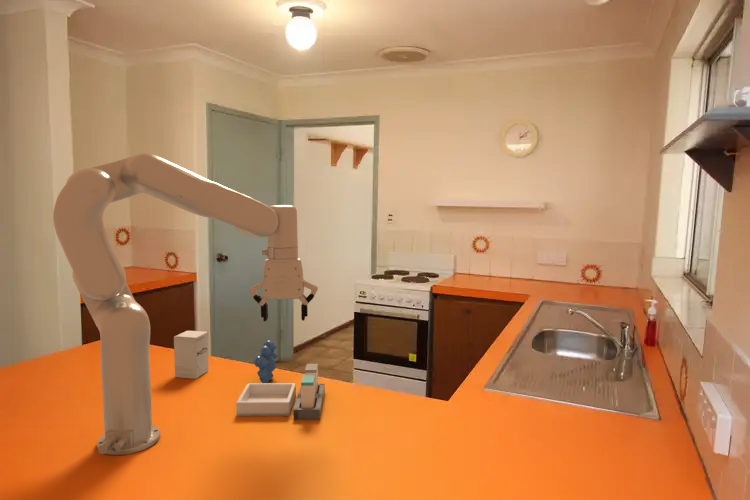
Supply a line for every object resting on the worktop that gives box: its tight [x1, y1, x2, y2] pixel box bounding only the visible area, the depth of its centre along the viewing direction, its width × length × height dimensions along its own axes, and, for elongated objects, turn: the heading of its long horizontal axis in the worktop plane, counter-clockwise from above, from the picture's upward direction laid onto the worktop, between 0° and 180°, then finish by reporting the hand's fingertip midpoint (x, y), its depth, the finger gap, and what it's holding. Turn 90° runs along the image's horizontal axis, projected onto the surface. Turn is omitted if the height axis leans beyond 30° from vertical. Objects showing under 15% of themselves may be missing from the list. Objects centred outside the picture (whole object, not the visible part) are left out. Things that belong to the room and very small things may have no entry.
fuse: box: [304, 363, 319, 394], centre depth 139 cm, size 5×3×9 cm, turn 2°
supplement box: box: [173, 330, 210, 380], centre depth 157 cm, size 7×7×13 cm
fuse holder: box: [292, 383, 326, 421], centre depth 135 cm, size 17×6×2 cm, turn 2°
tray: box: [235, 382, 297, 417], centre depth 135 cm, size 13×13×4 cm
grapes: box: [252, 339, 278, 383], centre depth 151 cm, size 12×7×12 cm, turn 174°
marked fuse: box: [300, 374, 315, 408], centre depth 130 cm, size 5×3×9 cm, turn 2°
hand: (284, 319), depth 134 cm, fingers open, 9 cm apart
